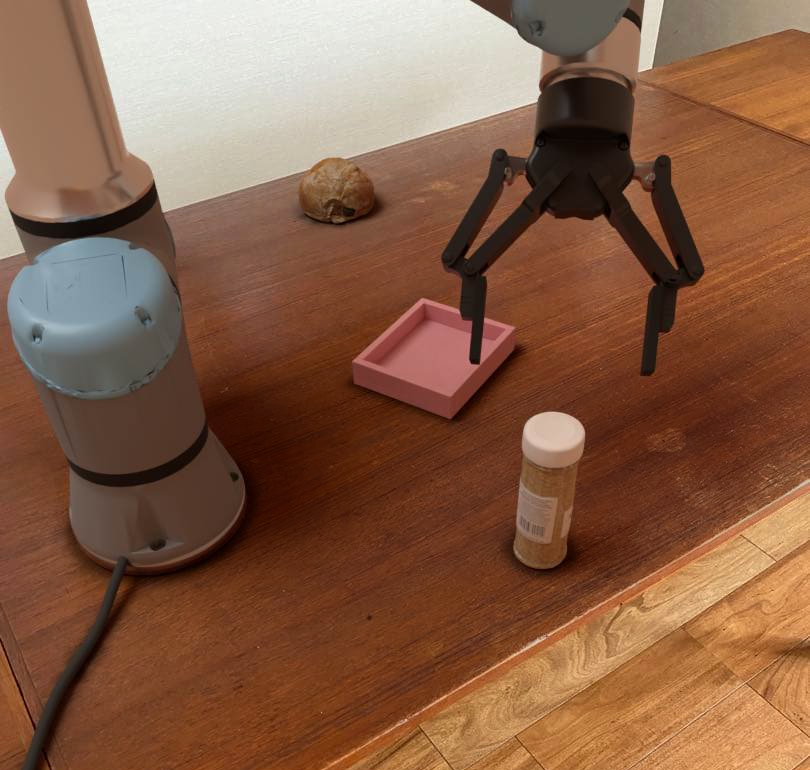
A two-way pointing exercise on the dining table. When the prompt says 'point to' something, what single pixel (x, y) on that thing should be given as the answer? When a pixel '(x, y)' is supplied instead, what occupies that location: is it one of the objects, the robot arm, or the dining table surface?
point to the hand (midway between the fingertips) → (559, 368)
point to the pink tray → (432, 358)
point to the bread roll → (336, 191)
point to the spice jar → (547, 488)
